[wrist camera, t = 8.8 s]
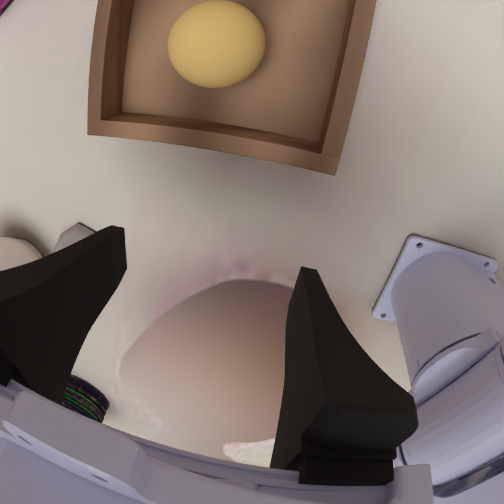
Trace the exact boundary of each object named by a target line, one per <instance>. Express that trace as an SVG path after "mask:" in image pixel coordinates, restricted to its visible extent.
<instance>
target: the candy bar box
mask: <svg viewBox="0 0 504 504" xmlns="http://www.w3.org/2000/svg"><path fill="white" fill-rule="evenodd" d="M11 1H12V0H0V15H1V13H2V12H3V11H4V10H5V8H6V7H7V6H8V5H9V4H10V3H11Z"/></svg>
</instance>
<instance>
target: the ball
mask: <svg viewBox="0 0 504 504" xmlns="http://www.w3.org/2000/svg"><path fill="white" fill-rule="evenodd" d="M265 45H266V40H265V33H264V30H263V27H262V25H261V23H260V21H259V20H258V18H257V17H256V16H255V15H254V14H253V13H252V12H251V11H250V10H248V9H247V8H246V7H244V6H242V5H240V4H238V3H235V2H231V1H226V0H211V1H205V2H202V3H199V4H196V5H194V6H193V7H191V8H189V9H188V10H186V11H185V12H184V13H183V14H182V15H180V16H179V18H178V19H177V20H176V21H175V23H174V24H173V26H172V28H171V31H170V34H169V37H168V54H169V58H170V61H171V63H172V65H173V67H174V68H175V69H176V71H177V72H178V73H179V74H180V75H181V76H182V77H183V78H185V79H186V80H188V81H189V82H191V83H193V84H196V85H198V86H202V87H207V88H223V87H228V86H231V85H234V84H237V83H239V82H241V81H243V80H244V79H246V78H247V77H248V76H250V75H251V74H252V73H253V72H254V71H255V70H256V68H257V67H258V65H259V64H260V62H261V60H262V58H263V55H264V51H265Z"/></svg>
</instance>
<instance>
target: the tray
mask: <svg viewBox="0 0 504 504" xmlns="http://www.w3.org/2000/svg"><path fill="white" fill-rule="evenodd" d="M205 1H211V0H98V5H97V11H96V18H95V25H94V32H93V41H92V50H91V61H90V74H89V91H88V135H96V136H108V137H118V138H128V139H137V140H145V141H154V142H161V143H169V144H176V145H183V146H190V147H196V148H202V149H208V150H214V151H220V152H226V153H232V154H237V155H242V156H248V157H253V158H258V159H263V160H268V161H273V162H277V163H282V164H287V165H291V166H296V167H300V168H304V169H309V170H313V171H317V172H321V173H325V174H329V175H333V176H335V173H336V170H337V166H338V162H339V159H340V155H341V151H342V148H343V144H344V140H345V136H346V133H347V129H348V125H349V121H350V117H351V113H352V109H353V105H354V101H355V97H356V93H357V89H358V84H359V80H360V76H361V72H362V67H363V63H364V58H365V54H366V49H367V44H368V40H369V35H370V30H371V25H372V20H373V15H374V10H375V5H376V0H226V1H231V2H235V3H238V4H240V5H242V6H244V7H246V8H247V9H248V10H250V11H251V12H252V13H253V14H254V15H255V16H256V17H257V18H258V20H259V21H260V23H261V25H262V27H263V30H264V33H265V40H266V45H265V51H264V55H263V58H262V60H261V62H260V64H259V65H258V67H257V68H256V70H255V71H254V72H253V73H252V74H251V75H250V76H248V77H247V78H246V79H244V80H243V81H241V82H239V83H237V84H234V85H231V86H228V87H223V88H207V87H202V86H198V85H196V84H193V83H191V82H189V81H188V80H186V79H185V78H183V77H182V76H181V75H180V74H179V73H178V72H177V71H176V69H175V68H174V67H173V65H172V63H171V61H170V58H169V54H168V37H169V34H170V31H171V28H172V26H173V24H174V23H175V21H176V20H177V19H178V18H179V16H180V15H182V14H183V13H184V12H185V11H186V10H188V9H189V8H191V7H193V6H194V5H196V4H199V3H202V2H205Z"/></svg>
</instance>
